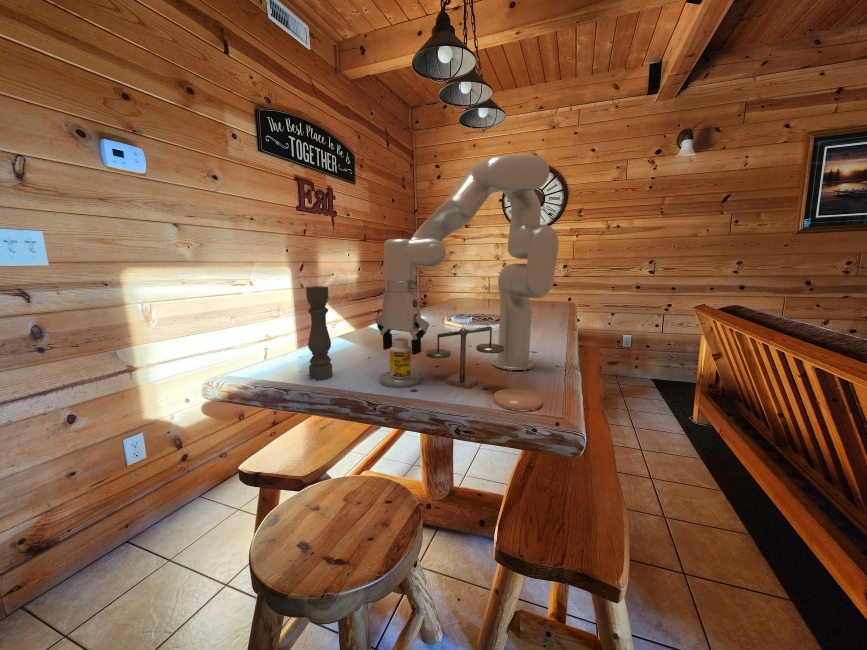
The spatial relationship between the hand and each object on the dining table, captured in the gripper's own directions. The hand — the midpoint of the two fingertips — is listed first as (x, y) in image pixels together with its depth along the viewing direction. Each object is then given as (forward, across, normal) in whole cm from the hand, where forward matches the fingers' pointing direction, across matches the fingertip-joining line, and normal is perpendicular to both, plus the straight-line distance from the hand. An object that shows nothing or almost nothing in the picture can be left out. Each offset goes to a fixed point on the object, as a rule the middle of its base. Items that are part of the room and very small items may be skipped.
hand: (401, 351), depth 99 cm
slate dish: (+8, 0, +1) cm, 8 cm away
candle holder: (+8, +20, +11) cm, 24 cm away
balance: (+9, -15, -7) cm, 18 cm away
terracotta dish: (+9, -32, -3) cm, 33 cm away
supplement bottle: (+7, 0, +1) cm, 7 cm away
